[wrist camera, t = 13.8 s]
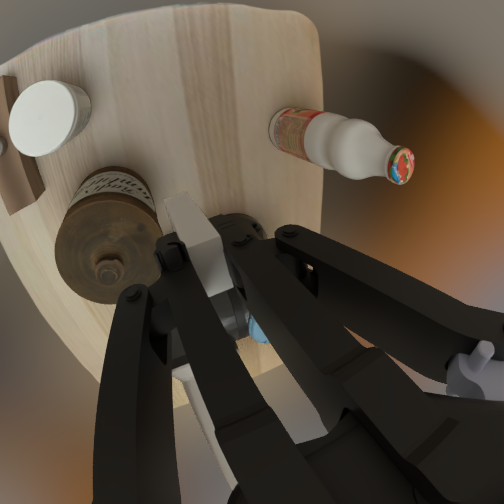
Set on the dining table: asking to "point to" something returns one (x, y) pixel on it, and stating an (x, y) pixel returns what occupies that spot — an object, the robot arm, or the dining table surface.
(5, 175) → the bench stop
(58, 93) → the supplement tub
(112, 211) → the wooden container
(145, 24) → the dining table surface
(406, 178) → the fruit juice
